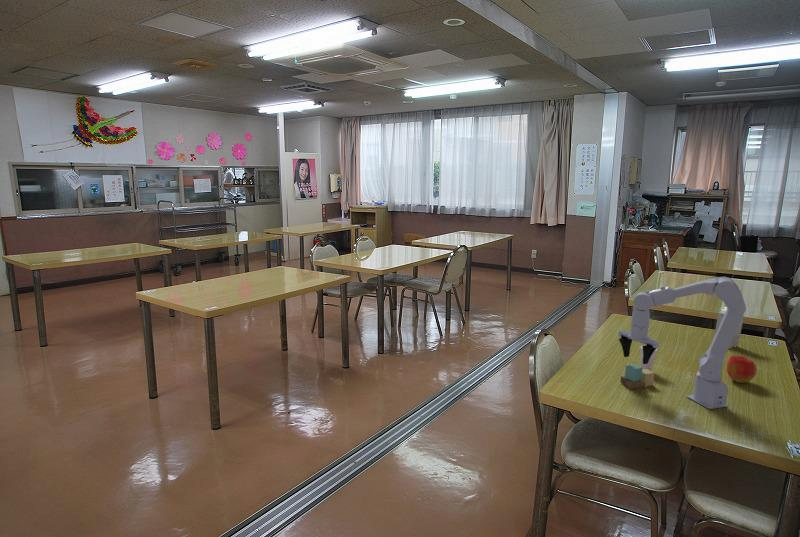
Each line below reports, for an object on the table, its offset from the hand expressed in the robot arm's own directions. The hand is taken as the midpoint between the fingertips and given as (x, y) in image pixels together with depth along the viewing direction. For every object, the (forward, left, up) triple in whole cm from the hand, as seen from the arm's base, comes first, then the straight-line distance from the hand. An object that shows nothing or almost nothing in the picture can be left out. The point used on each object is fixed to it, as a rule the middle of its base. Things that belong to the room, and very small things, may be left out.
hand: (635, 360), depth 174 cm
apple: (-6, -44, -10) cm, 46 cm away
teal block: (0, 0, -8) cm, 8 cm away
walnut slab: (0, 0, -11) cm, 11 cm away
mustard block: (+1, -6, -10) cm, 12 cm away
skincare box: (+27, -77, -10) cm, 82 cm away
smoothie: (+11, -16, -10) cm, 22 cm away
